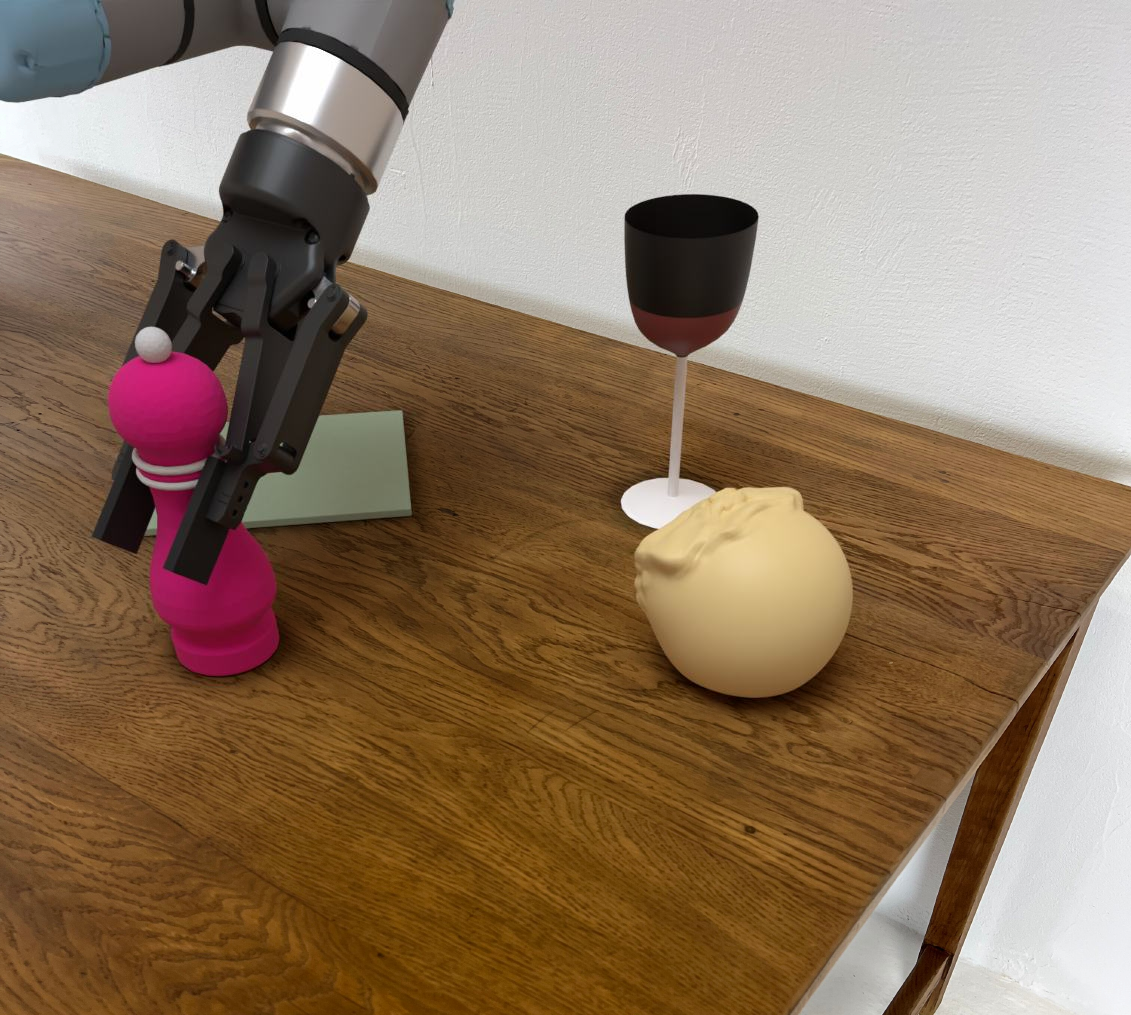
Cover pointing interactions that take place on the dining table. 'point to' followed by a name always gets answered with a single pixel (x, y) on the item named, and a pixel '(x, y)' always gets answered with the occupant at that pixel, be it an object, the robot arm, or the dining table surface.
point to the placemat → (336, 475)
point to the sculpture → (745, 591)
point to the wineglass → (683, 308)
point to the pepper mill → (171, 470)
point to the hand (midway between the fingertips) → (149, 560)
